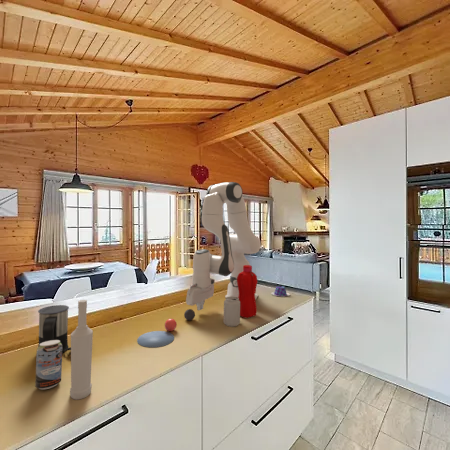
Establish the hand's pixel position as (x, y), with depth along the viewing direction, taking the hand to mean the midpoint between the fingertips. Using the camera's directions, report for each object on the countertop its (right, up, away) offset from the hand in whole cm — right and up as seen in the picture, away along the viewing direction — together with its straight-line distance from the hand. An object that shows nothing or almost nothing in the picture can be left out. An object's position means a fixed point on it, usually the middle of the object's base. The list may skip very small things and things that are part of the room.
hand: (200, 309), depth 134 cm
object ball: (-10, 0, -21) cm, 24 cm away
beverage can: (-37, -3, -60) cm, 70 cm away
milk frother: (-44, -2, -40) cm, 59 cm away
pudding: (+49, -3, +39) cm, 63 cm away
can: (+15, -3, -12) cm, 20 cm away
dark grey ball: (-4, 0, -9) cm, 10 cm away
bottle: (-26, -3, -63) cm, 68 cm away
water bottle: (+24, -3, -1) cm, 24 cm away
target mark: (-15, -2, -29) cm, 33 cm away
